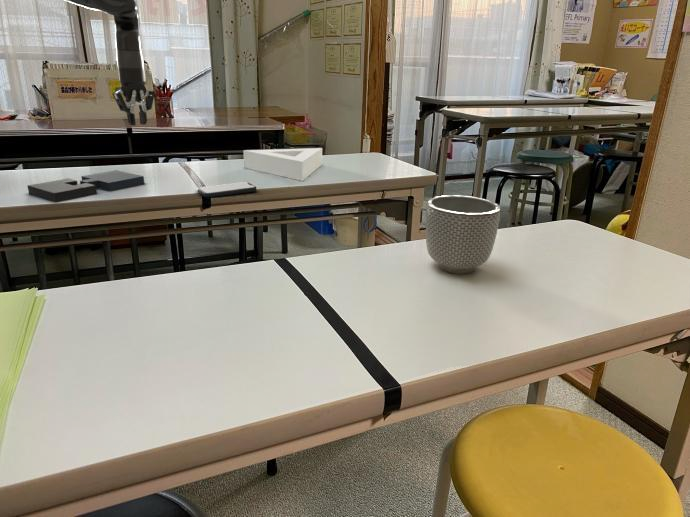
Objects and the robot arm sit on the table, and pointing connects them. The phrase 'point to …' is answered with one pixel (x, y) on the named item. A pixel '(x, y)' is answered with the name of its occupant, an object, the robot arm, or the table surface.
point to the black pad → (61, 190)
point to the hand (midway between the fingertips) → (137, 124)
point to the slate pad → (113, 180)
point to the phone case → (226, 189)
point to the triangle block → (284, 161)
